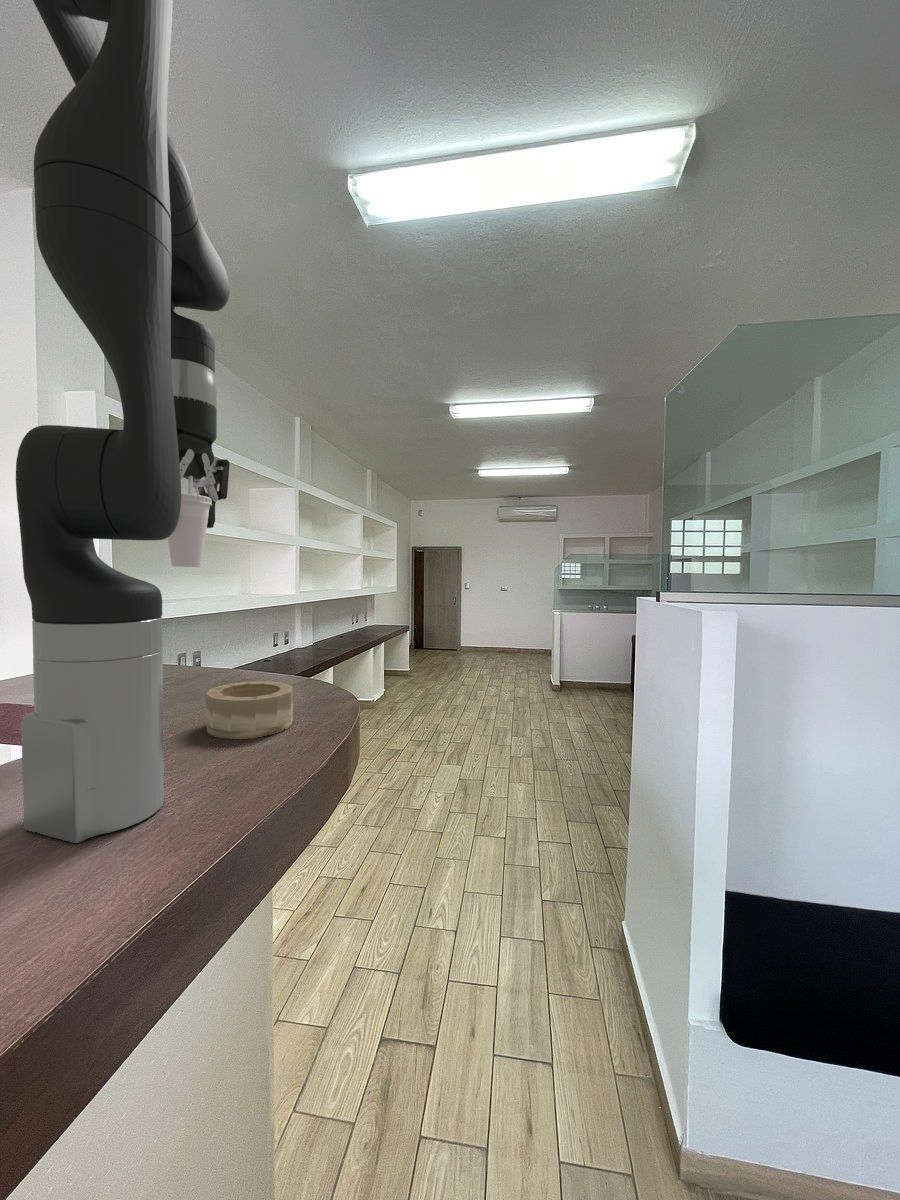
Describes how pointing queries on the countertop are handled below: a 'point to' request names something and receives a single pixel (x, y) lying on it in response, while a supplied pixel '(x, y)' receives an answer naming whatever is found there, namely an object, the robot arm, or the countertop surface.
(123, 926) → the countertop surface
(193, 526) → the smoothie
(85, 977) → the countertop surface
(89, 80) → the robot arm
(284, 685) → the ring
